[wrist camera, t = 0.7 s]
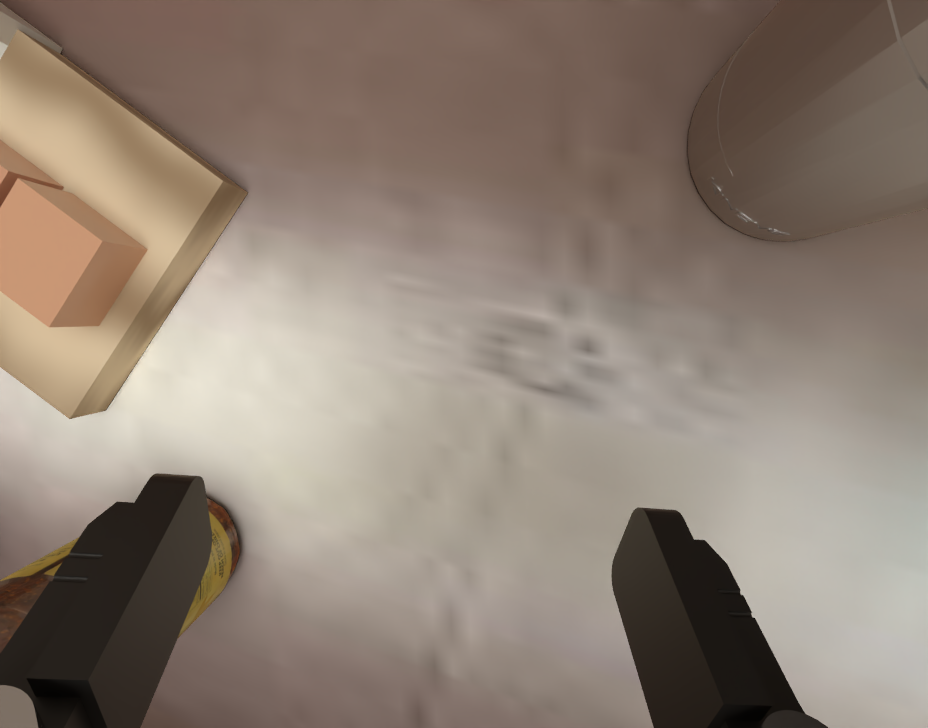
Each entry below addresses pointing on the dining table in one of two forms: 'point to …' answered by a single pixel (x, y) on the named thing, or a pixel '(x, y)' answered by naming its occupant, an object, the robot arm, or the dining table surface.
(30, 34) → the box
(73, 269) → the tan block
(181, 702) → the dining table surface
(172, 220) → the board
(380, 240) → the dining table surface
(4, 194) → the tile
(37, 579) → the sauce bottle
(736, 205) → the robot arm
